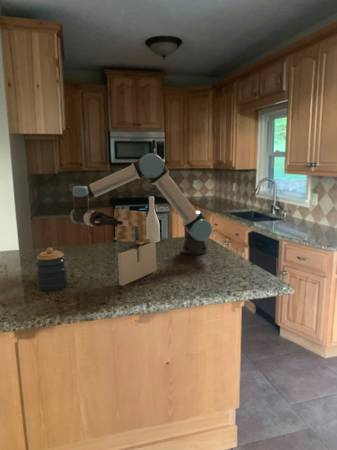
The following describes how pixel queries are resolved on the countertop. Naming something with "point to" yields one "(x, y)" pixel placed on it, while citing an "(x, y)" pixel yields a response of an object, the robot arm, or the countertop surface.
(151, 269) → the cream board
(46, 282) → the canister
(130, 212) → the brown angled piece
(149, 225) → the white rounded block
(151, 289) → the countertop surface
